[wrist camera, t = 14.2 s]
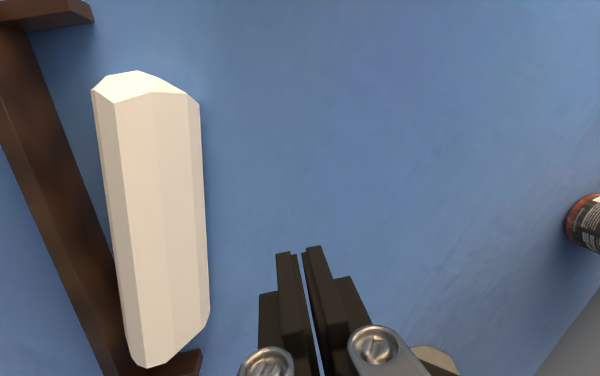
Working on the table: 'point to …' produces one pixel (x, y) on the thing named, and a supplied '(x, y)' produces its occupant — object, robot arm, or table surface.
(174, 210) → the crystal
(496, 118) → the table surface
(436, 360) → the coffeepot
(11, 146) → the frame
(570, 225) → the supplement bottle
